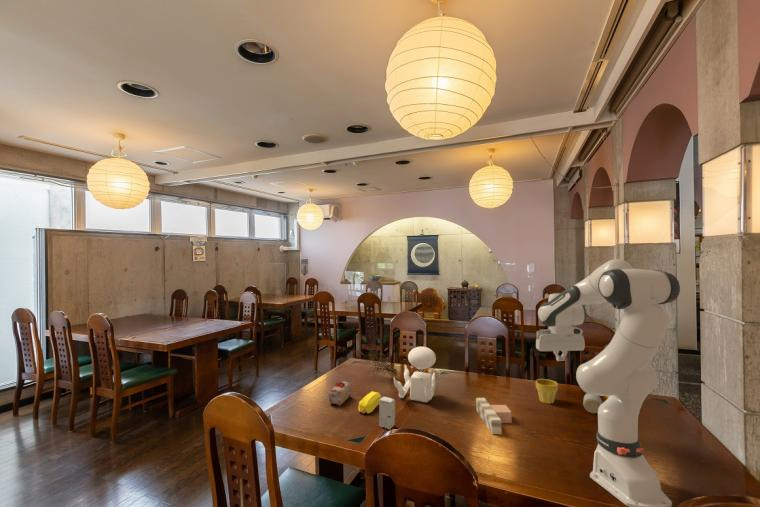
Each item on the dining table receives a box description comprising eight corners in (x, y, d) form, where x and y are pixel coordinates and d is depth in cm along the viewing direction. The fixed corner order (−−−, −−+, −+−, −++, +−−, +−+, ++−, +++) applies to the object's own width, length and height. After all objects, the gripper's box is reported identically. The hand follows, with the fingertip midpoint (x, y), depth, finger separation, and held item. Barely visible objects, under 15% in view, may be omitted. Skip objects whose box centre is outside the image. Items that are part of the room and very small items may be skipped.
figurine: (430, 411, 173) (431, 354, 173) (392, 404, 180) (393, 350, 180) (438, 393, 196) (439, 343, 196) (404, 388, 202) (405, 339, 202)
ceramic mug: (583, 412, 167) (582, 396, 167) (583, 406, 174) (583, 390, 174) (609, 418, 161) (609, 401, 161) (609, 411, 168) (609, 395, 168)
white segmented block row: (501, 434, 148) (501, 420, 148) (492, 434, 148) (491, 420, 148) (484, 409, 172) (484, 397, 172) (476, 410, 172) (476, 397, 172)
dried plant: (414, 348, 223) (357, 315, 240) (394, 366, 195) (331, 328, 212) (398, 387, 230) (344, 353, 247) (377, 410, 202) (317, 370, 220)
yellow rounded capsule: (355, 414, 170) (369, 417, 167) (355, 400, 170) (369, 402, 167) (371, 400, 186) (384, 402, 183) (371, 387, 186) (384, 389, 183)
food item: (341, 407, 178) (341, 387, 178) (327, 405, 180) (327, 386, 181) (352, 397, 191) (351, 378, 191) (338, 395, 193) (338, 377, 194)
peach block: (511, 423, 158) (511, 412, 158) (493, 423, 158) (493, 412, 158) (506, 415, 166) (505, 404, 166) (488, 415, 166) (488, 404, 166)
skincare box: (378, 426, 156) (378, 399, 156) (383, 422, 160) (383, 396, 160) (391, 430, 153) (390, 402, 153) (395, 425, 157) (395, 398, 157)
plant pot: (560, 406, 174) (560, 386, 175) (538, 404, 177) (538, 385, 177) (554, 397, 185) (554, 379, 185) (534, 396, 187) (533, 378, 187)
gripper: (539, 330, 151) (540, 363, 151) (586, 330, 151) (587, 362, 151) (532, 328, 158) (533, 359, 157) (578, 327, 158) (579, 358, 157)
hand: (560, 360), depth 154 cm, fingers closed
